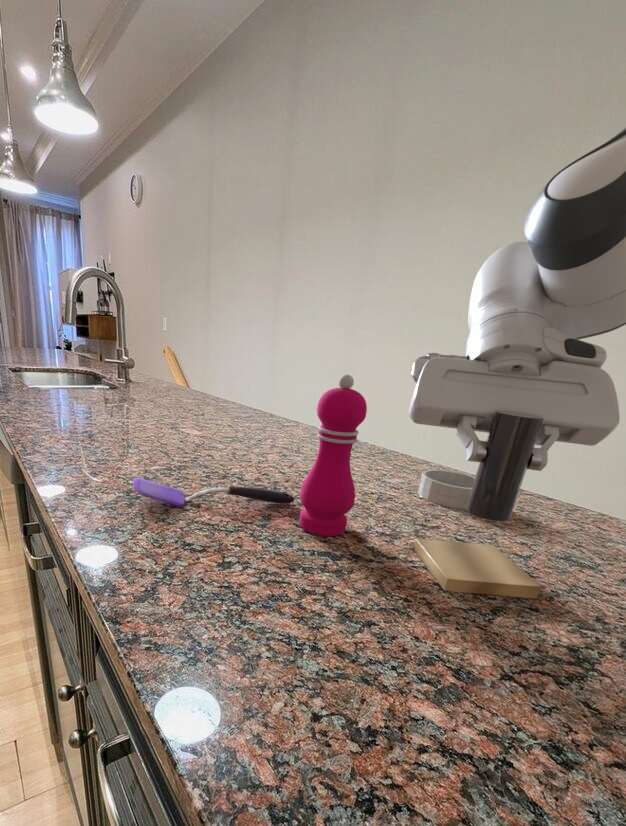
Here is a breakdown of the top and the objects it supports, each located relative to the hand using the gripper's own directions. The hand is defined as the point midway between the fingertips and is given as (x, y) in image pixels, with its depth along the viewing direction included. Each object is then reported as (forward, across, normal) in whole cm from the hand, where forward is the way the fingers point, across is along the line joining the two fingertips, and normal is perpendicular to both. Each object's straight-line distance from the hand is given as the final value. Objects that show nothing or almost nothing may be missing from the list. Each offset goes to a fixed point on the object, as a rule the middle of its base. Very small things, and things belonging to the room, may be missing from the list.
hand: (506, 463), depth 47 cm
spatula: (+3, -34, +16) cm, 37 cm away
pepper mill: (+5, -18, +14) cm, 23 cm away
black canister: (+4, 0, +5) cm, 6 cm away
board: (+9, 0, +10) cm, 13 cm away
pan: (-10, +2, +29) cm, 30 cm away
